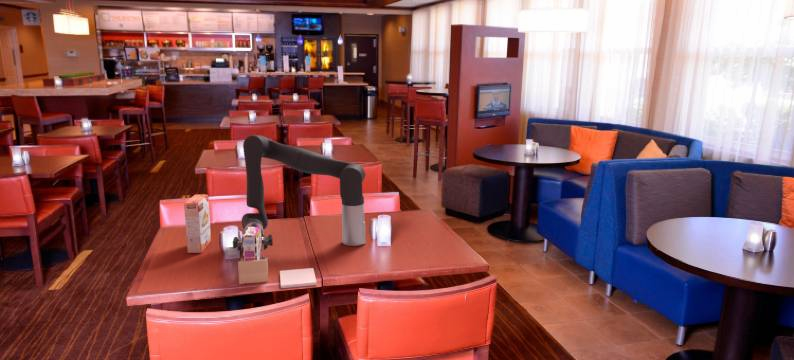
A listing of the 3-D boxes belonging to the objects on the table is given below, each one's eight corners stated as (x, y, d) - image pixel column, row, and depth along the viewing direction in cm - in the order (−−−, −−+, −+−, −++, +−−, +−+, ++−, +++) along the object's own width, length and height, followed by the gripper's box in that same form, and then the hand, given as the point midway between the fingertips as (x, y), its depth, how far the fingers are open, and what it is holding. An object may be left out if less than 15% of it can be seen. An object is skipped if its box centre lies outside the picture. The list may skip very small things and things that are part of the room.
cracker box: (202, 253, 212) (198, 202, 207) (187, 254, 211) (182, 203, 207) (212, 241, 225) (208, 193, 221) (197, 242, 225) (193, 193, 220)
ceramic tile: (313, 270, 196) (313, 268, 195) (316, 285, 183) (316, 282, 183) (279, 273, 193) (279, 270, 193) (280, 288, 181) (280, 285, 180)
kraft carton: (267, 261, 204) (266, 241, 202) (268, 281, 186) (266, 259, 184) (241, 263, 202) (240, 243, 200) (239, 284, 184) (237, 262, 182)
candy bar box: (258, 280, 187) (256, 235, 183) (244, 280, 187) (241, 236, 183) (263, 268, 198) (261, 225, 194) (249, 268, 197) (247, 226, 194)
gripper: (234, 225, 205) (231, 239, 190) (272, 223, 208) (272, 236, 193) (235, 244, 207) (232, 259, 192) (272, 241, 210) (273, 256, 195)
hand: (252, 248), depth 192 cm, fingers open, 8 cm apart
